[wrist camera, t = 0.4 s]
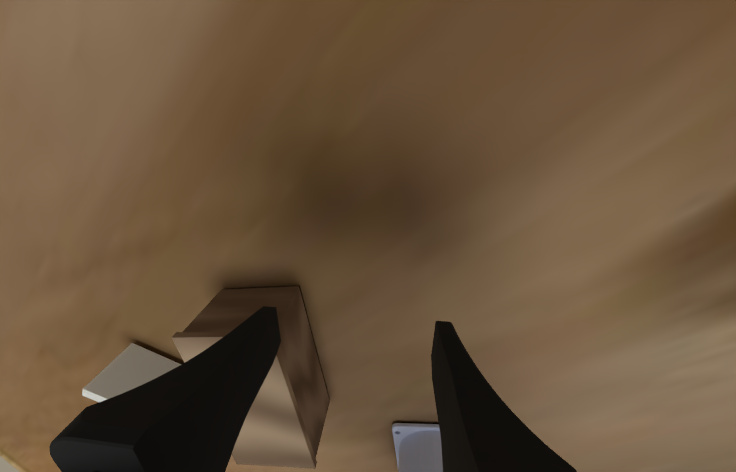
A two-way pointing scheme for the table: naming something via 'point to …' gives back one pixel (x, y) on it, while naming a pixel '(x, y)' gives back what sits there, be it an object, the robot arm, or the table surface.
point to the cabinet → (270, 377)
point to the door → (128, 373)
